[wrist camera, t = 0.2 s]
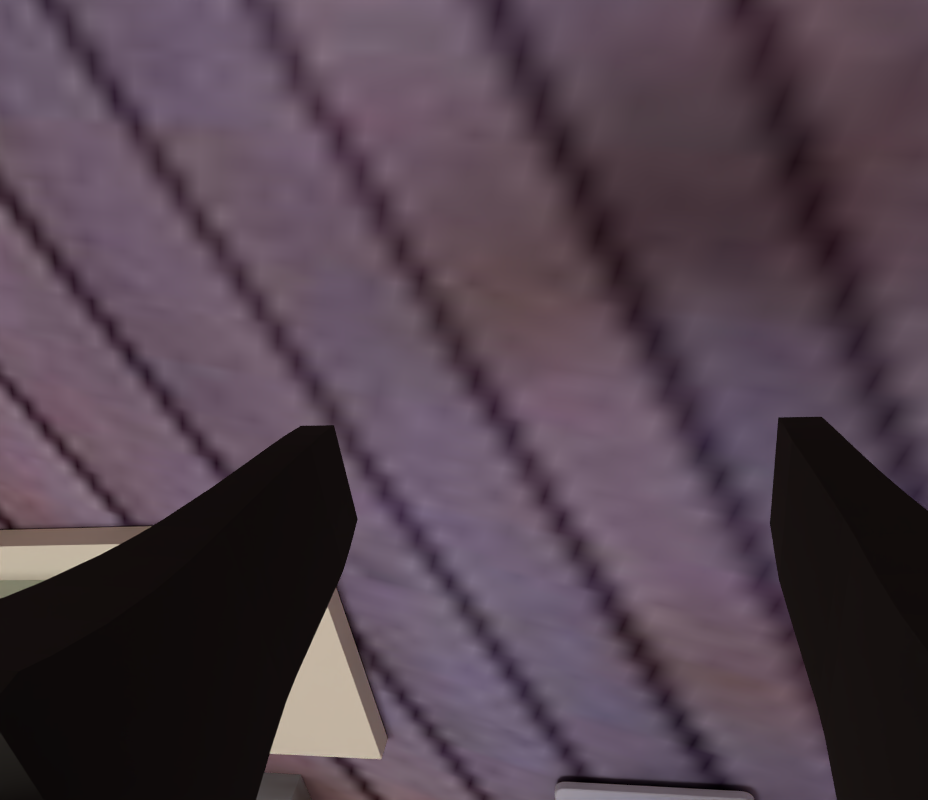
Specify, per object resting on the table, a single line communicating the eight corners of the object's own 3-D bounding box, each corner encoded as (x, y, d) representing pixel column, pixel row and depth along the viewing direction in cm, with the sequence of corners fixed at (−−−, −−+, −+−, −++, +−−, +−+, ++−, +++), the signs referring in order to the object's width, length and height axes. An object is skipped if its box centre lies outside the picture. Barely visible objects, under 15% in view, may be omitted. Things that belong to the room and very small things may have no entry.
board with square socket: (387, 738, 34) (365, 815, 31) (-30, 720, 39) (-83, 785, 36) (313, 521, 28) (277, 591, 25) (-165, 534, 33) (-242, 593, 30)
